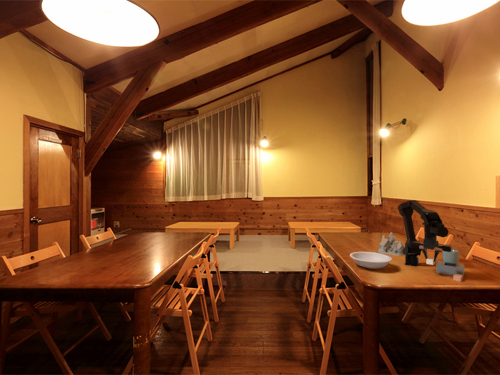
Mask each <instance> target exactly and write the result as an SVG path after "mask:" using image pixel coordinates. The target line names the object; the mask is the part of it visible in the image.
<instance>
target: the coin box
mask: <svg viewBox="0 0 500 375" xmlns="http://www.w3.org/2000/svg"><path fill="white" fill-rule="evenodd" d="M435 264H436V265H435V266H436V268H435V269H436V273H437V274H439V275H440V274H441V275H447V276H452V277H453V276H454V275H455V274H460V275H463V279H464V277H465V264H463V263H458V264H457V263H450V262H444V261H443V260H438V261H437V262H436V263H435Z"/></svg>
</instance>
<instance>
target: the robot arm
mask: <svg viewBox="0 0 500 375" xmlns="http://www.w3.org/2000/svg"><path fill="white" fill-rule="evenodd" d="M397 210H398V213H399V215H400V216H401V217H402V219H403V224H404V229H405V237H406V240H405V243H404V249H403V250H402V252H403V254H404V255H403V256H404V258H405V262H404V265H406V266H407V265H408V266H413V267H417V266H419V263H420V262H419V260H420V259H419V257H418V256H421V253H423V255H424V258H425V260H426V259H427V258H429V257H428V250H430V251H431V250H434V249H435V250H434V255H433V258H434V262H435V263H436V261H437V258H438V256H439V253H443V251H445V252H451V251H452V249H453V246H452V245H451V244H442V245H440V242H439V240H437V238H438V237H440V238H446V237H447V236H448V235H449V229H448V228H447V227H446V226H445V224H444V223H443V220H442V219H441V216H440V214H439V213H438V212H437V211H435V210H432V209H431V210H430V209H428V208H426V207H425V206H424V205H422V204H421V203H419V202H418V200H415V199H413V200H412V199H409V200H406V201H404V202H401V203H400V204H398V206H397ZM414 211H415V213H417V214H418V215H420V219H421V220H422V221H423V222H422V226H424V228H423V230H424V233H423V234H424V235H423V237H424V238H423V241H422V243H421V241H419V240H418V239H417V237H416V232H415V228H414V221H413V217H412V216H413V214H414Z"/></svg>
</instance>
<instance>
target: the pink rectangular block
mask: <svg viewBox="0 0 500 375" xmlns="http://www.w3.org/2000/svg"><path fill="white" fill-rule="evenodd" d="M452 277H453V281H455V280H456V281H457V282H462V280H463V279H464V278H463V275H460V274H455V275H454V276H452ZM456 281H455V282H456Z"/></svg>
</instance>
